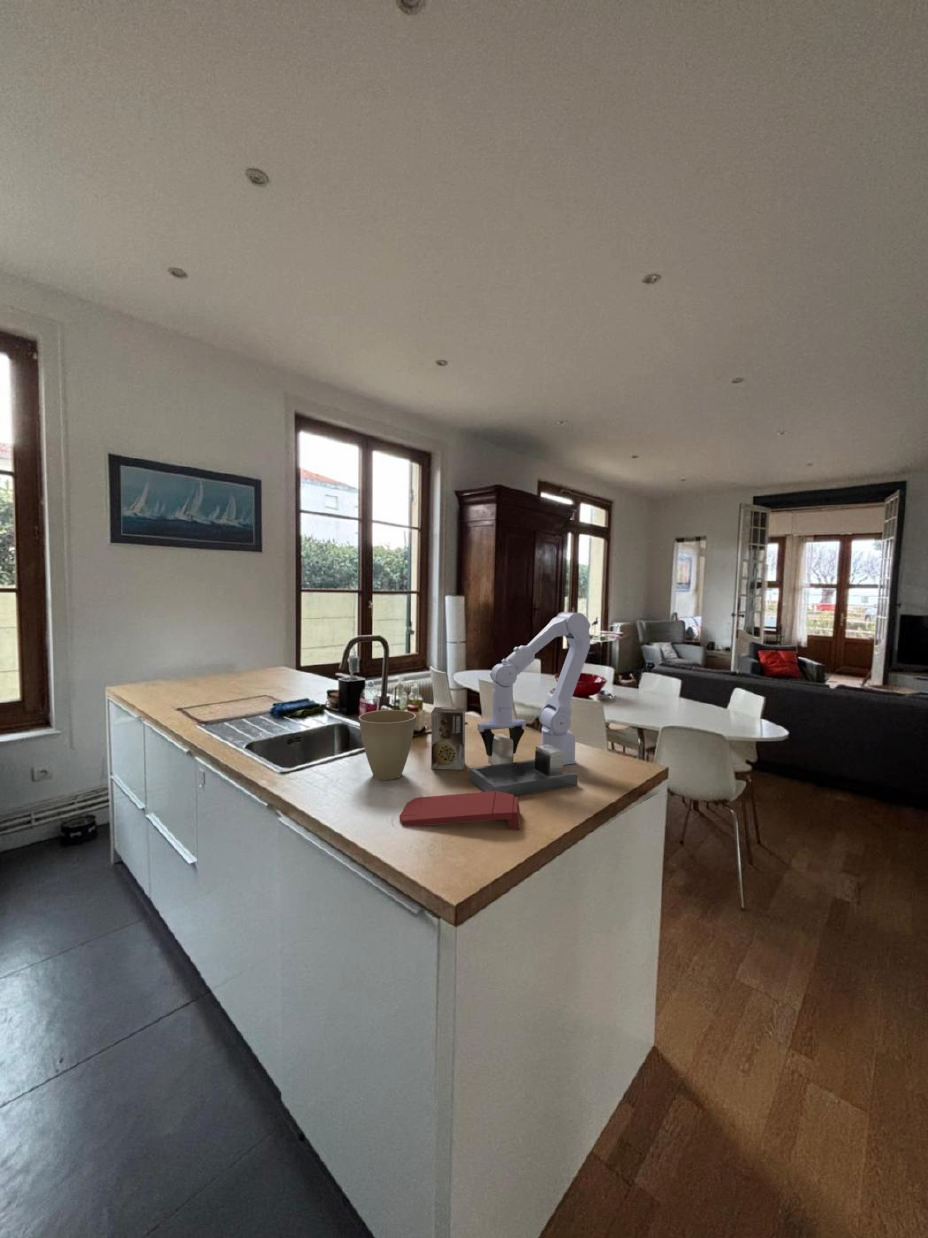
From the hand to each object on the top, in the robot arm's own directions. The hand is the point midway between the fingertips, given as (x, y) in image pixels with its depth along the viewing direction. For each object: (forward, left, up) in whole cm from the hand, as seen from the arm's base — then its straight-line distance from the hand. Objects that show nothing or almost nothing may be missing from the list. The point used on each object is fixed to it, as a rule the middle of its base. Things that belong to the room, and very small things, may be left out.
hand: (501, 754), depth 143 cm
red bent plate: (+24, +27, -4) cm, 36 cm away
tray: (+1, +14, -3) cm, 14 cm away
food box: (+14, -5, -4) cm, 15 cm away
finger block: (0, 0, -3) cm, 3 cm away
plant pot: (+32, -4, -3) cm, 33 cm away
